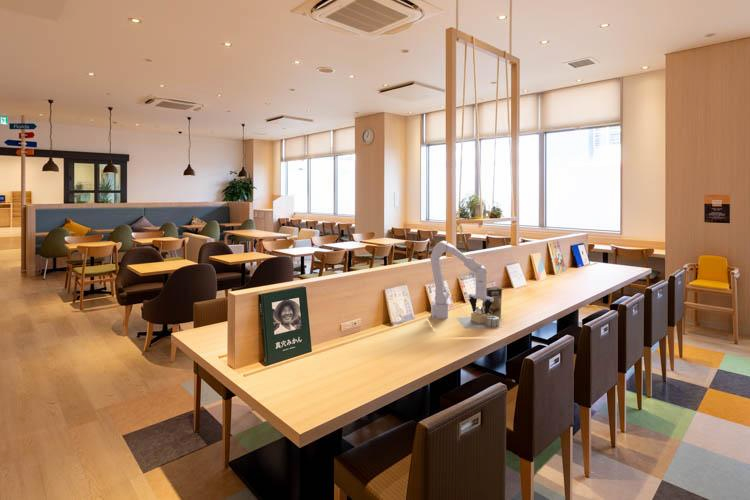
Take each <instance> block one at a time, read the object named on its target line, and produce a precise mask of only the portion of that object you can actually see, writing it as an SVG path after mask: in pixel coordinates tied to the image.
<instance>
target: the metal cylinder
mask: <svg viewBox="0 0 750 500" xmlns="http://www.w3.org/2000/svg"><path fill="white" fill-rule="evenodd" d="M476 314H484V308H483V307H482V306H476Z"/></svg>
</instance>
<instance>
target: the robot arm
mask: <svg viewBox="0 0 750 500" xmlns="http://www.w3.org/2000/svg"><path fill="white" fill-rule="evenodd" d="M444 253H445V254H448V255H449V254H450V255H453V256H454V257H456V258H457V259H458V260H460V261H462V262H463V266H464V267H466V268H467V269H468V270H470V271H471V272H472V273H474V274H475V293H473V294H472V293H468V294H467V298H468V301H469V303H470V306H471V308H472V312H474V311H476V307H477V302H478V301H477V300H480V301H483V300H486V301H485V302H484V304H485V314H488V311H489V308H490V306H491V304H492V302H493V301H494V298H492V297H489V296H486V288H487V273H488V268H487V267H486V266H485V265H483V264H482V263H480V262H478V261H477V260H476V258H474V257H471V256H470V257H469V256H468V257H467V256H466V255H465V254H463V252H461V251H460V250H459V249H458V248H457V247H455V246H454V245H452V244H451V243H449V242H448V241H446V240H441V241H439V242H437V243H436V244H435V245H434V246H433V248H432V252H431V253H430V257H429V259H430V264H431V270H432V275H433V276H432V277H433V280H434V281H433V282H434V285H435V289H434V293H435V294H434V295H435V296H434V301H435V302H434V303H431V304H430V316H431V318H432V320H433V319H439V320H440V319H441V320H442V319H443V320H445V319H448V317H449V303H448V299H449V296H450V295H449V292H448V291H447V288H446V286H445V282H444V278H443V276H444V275H443V271H442V270H443V269H442V266H441V259H440V258H441V257H442V256H443V254H444Z"/></svg>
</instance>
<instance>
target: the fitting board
mask: <svg viewBox="0 0 750 500" xmlns="http://www.w3.org/2000/svg"><path fill="white" fill-rule="evenodd" d="M470 316H471V317H469V316H467V317H462V316H461V317H456V319H457V320H458V322H459V323H460V324H461V325H462V327H463V328H464V329H494V328H495V329H497V328H501V329H502V328H504V327H503V326H502V325H501V324H500V316H499V317H498V316H497V315H493V316H490V313H488V314H485V311H484V314H476V311H474V312H473V311H471V312H470Z"/></svg>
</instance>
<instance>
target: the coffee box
mask: <svg viewBox="0 0 750 500" xmlns="http://www.w3.org/2000/svg"><path fill="white" fill-rule="evenodd" d="M502 292H503V289H502V288H499V287H497V286H495V287H493V286H492V287H486V296H489V297H492V298H494V301H493V302H492V304H491V306H490V308H489V311H488V313H490V316H497V317H499V318H500V317H501V316H502V300H503V299H502V296H503V295H502V294H503V293H502ZM485 301H486V300H482V305H481V307H483V308H484V311H485V304H484V302H485Z"/></svg>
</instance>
